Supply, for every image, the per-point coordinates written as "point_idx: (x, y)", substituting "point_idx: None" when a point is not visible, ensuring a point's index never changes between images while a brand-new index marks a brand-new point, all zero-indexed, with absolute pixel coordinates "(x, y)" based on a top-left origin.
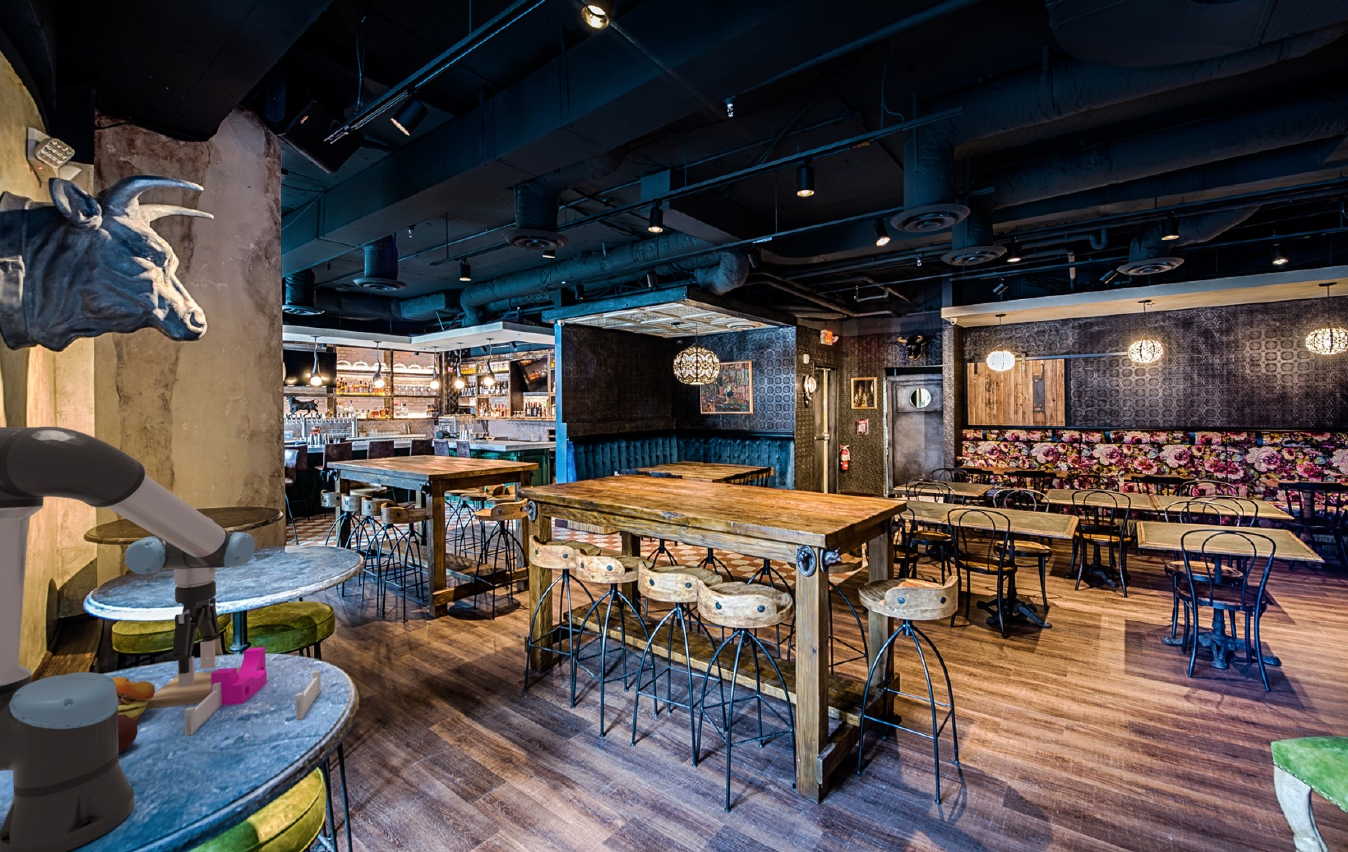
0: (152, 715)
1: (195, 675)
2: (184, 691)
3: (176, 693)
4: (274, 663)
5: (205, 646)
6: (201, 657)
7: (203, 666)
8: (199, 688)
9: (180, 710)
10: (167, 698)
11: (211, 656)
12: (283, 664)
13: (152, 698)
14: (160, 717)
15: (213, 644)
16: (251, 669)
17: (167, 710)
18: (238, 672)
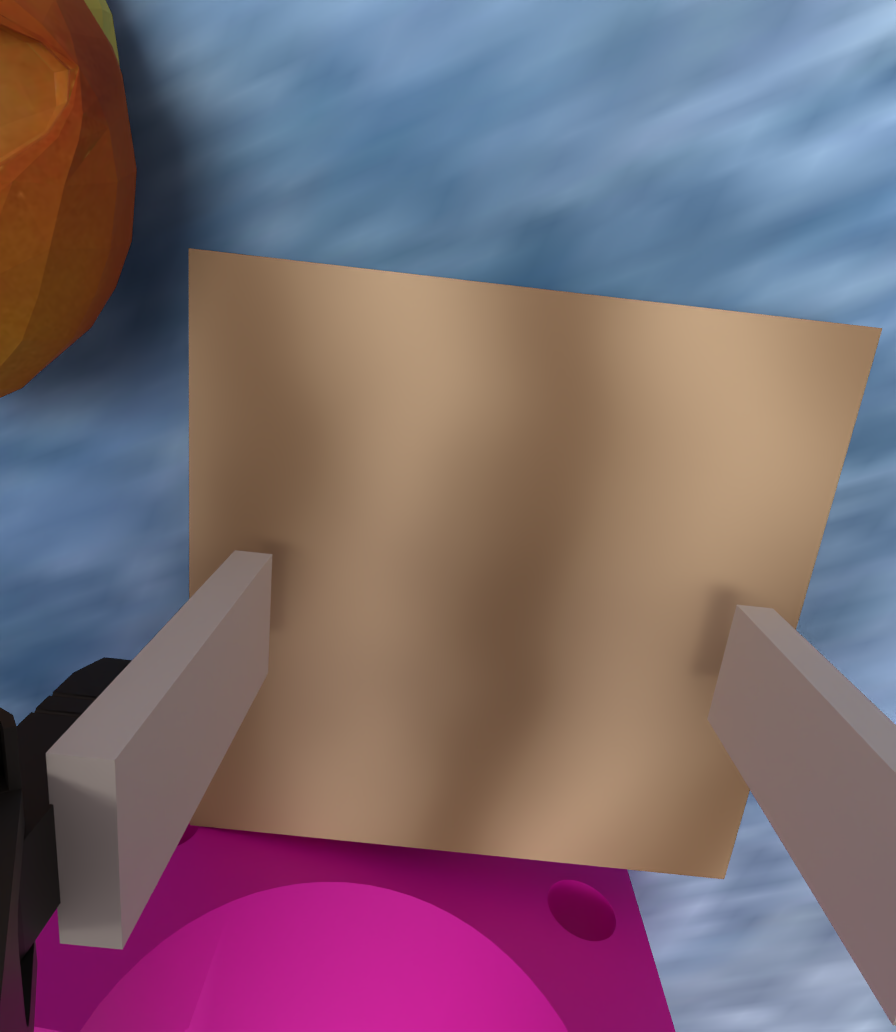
0: (74, 374)
1: (742, 520)
2: (311, 553)
3: (283, 498)
4: (846, 962)
5: (881, 849)
6: (804, 683)
7: (742, 639)
8: (333, 660)
9: (109, 563)
10: (190, 453)
11: (772, 787)
12: (777, 1017)
13: (237, 303)
14: (12, 456)
15: (859, 964)
16: (461, 1018)
17: (144, 461)
18: (468, 926)
